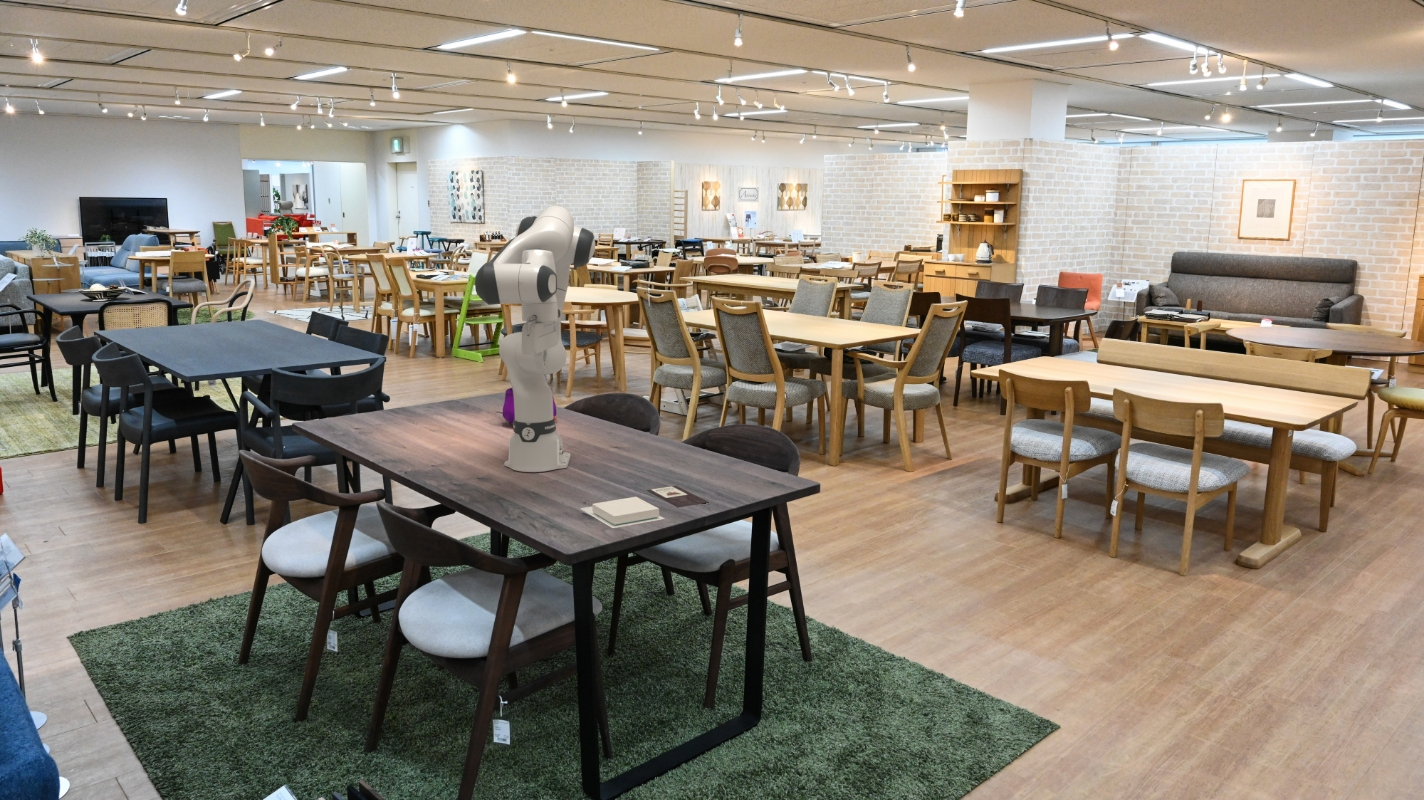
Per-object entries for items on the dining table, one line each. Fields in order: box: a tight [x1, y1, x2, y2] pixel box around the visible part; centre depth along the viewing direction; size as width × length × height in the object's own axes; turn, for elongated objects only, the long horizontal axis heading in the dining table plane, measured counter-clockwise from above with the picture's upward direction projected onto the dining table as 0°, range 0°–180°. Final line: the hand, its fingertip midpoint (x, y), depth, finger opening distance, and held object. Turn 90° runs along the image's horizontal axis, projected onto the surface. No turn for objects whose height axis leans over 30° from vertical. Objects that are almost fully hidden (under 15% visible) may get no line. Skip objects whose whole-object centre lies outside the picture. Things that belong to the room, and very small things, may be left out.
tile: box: [592, 496, 660, 525], centre depth 238 cm, size 2×12×12 cm
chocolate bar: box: [646, 485, 710, 508], centre depth 255 cm, size 9×1×18 cm
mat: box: [579, 506, 666, 529], centre depth 240 cm, size 18×14×1 cm
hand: (541, 367), depth 249 cm, fingers closed
